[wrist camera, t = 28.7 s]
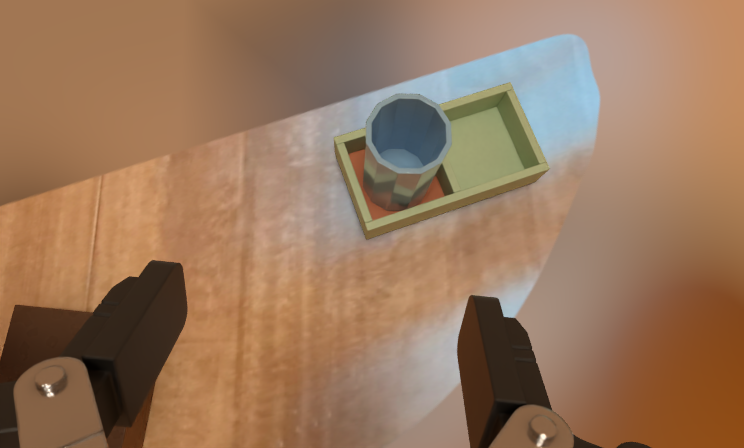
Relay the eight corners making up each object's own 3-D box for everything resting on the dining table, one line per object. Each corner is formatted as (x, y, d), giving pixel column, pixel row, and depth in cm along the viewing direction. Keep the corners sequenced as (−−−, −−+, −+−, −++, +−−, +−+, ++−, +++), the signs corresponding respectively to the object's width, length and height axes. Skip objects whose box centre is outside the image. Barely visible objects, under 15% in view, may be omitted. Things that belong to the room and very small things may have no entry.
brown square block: (141, 449, 39) (118, 461, 35) (13, 436, 39) (-24, 447, 35) (167, 320, 41) (148, 318, 37) (46, 308, 41) (14, 304, 37)
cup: (409, 223, 43) (426, 189, 34) (350, 189, 44) (349, 146, 34) (441, 167, 45) (466, 119, 35) (383, 135, 45) (392, 79, 35)
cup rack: (535, 181, 46) (550, 168, 42) (366, 239, 44) (367, 231, 40) (499, 100, 47) (510, 81, 44) (334, 152, 45) (333, 137, 42)
